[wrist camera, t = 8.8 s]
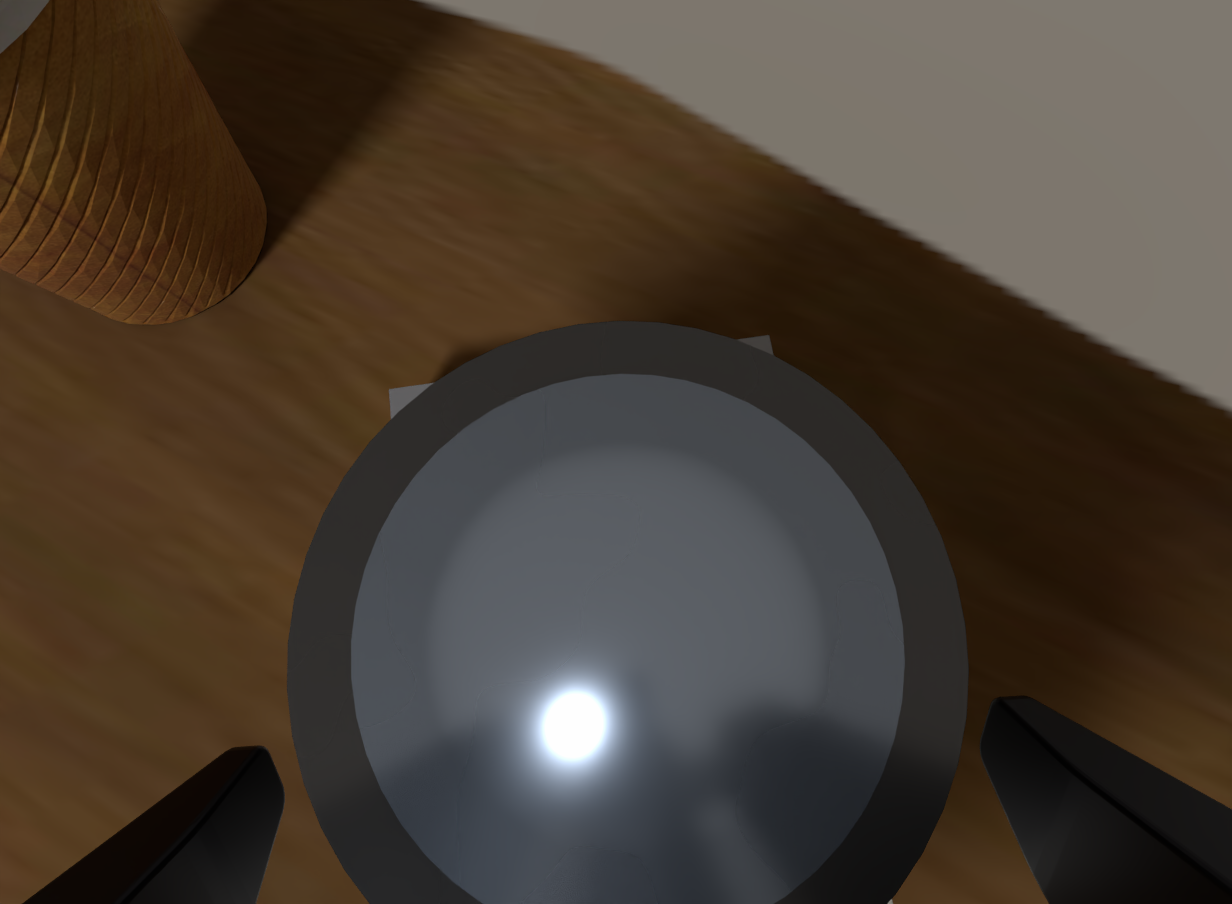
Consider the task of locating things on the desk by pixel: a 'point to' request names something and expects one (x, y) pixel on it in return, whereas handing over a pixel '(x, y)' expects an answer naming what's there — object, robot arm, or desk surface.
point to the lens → (627, 637)
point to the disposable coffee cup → (118, 164)
